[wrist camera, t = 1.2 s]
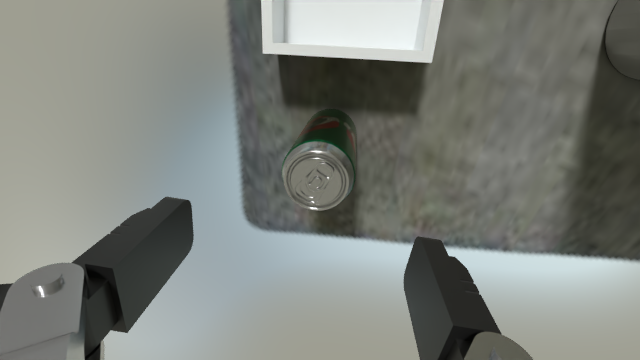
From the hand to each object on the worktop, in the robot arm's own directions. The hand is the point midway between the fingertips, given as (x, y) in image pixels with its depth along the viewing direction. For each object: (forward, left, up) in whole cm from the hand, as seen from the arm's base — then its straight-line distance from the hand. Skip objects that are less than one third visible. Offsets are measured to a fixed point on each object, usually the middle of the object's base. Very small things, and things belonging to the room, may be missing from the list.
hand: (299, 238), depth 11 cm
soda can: (-1, +2, -21) cm, 21 cm away
